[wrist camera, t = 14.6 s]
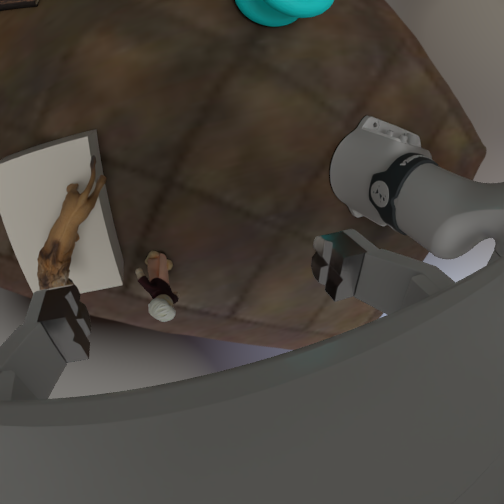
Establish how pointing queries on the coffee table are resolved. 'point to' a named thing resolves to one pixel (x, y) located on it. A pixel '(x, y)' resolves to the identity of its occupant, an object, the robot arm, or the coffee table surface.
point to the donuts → (281, 10)
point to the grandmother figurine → (158, 286)
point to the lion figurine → (67, 233)
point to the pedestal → (59, 210)
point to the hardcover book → (17, 4)
